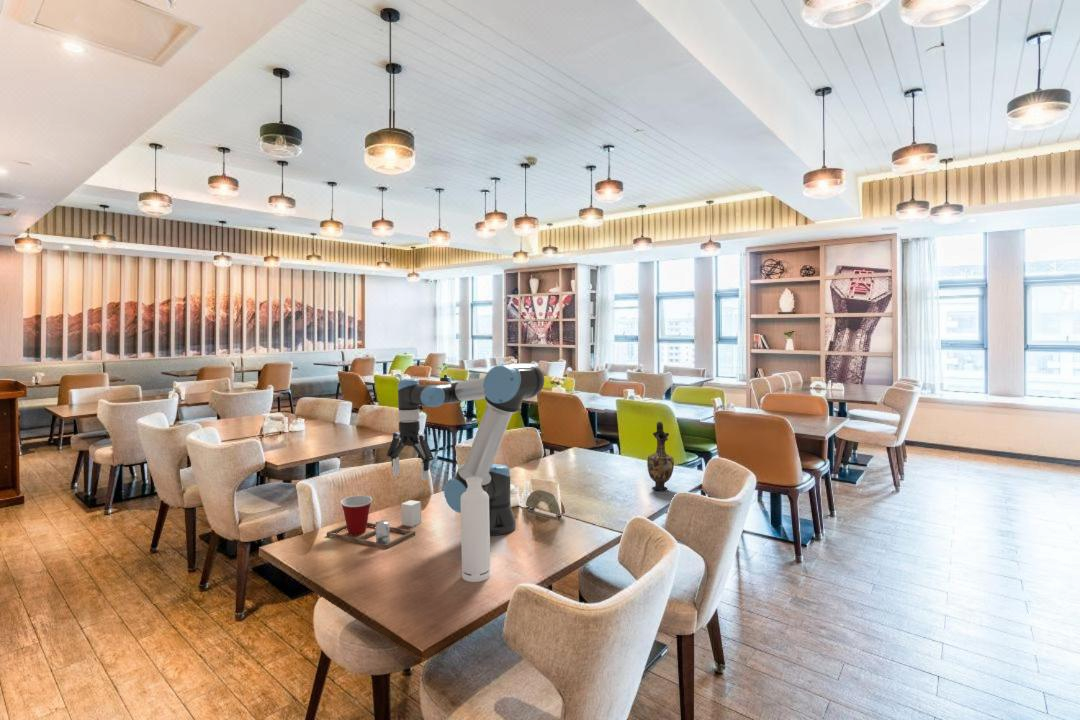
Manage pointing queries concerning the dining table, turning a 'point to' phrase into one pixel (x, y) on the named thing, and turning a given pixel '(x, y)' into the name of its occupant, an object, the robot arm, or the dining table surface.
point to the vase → (660, 461)
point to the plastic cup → (356, 513)
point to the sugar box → (411, 513)
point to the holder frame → (362, 538)
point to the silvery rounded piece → (382, 532)
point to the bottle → (475, 531)
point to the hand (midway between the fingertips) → (410, 477)
